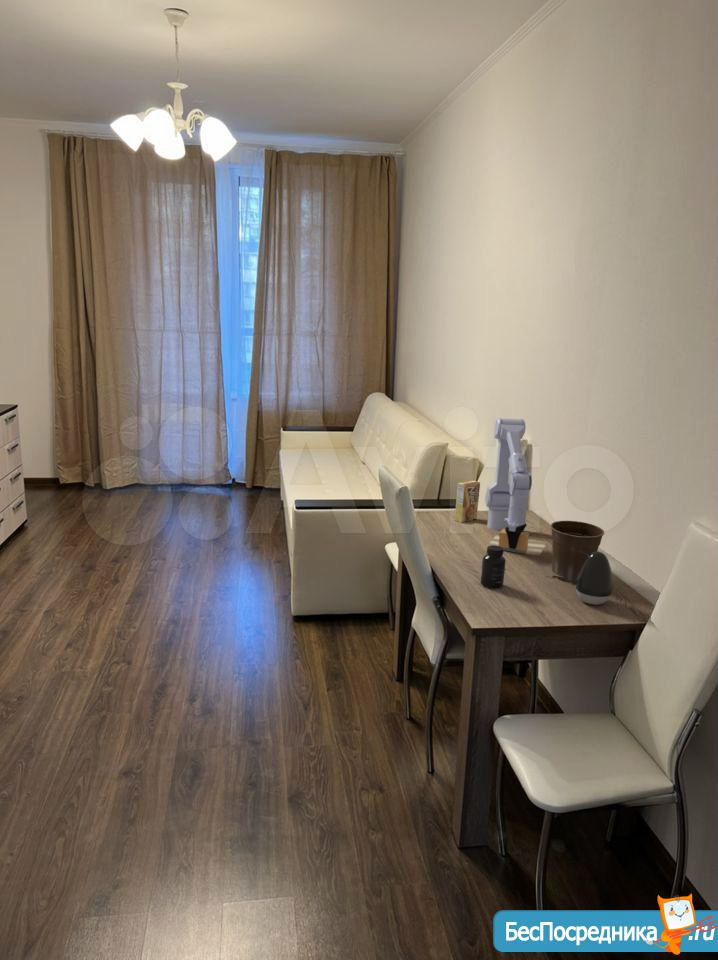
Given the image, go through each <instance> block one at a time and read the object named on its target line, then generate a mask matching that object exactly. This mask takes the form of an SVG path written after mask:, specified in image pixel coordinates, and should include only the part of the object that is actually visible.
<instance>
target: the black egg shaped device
mask: <svg viewBox="0 0 718 960" xmlns="http://www.w3.org/2000/svg"><path fill="white" fill-rule="evenodd" d="M579 554H580V555H581V556H582V557H584V558H585V559H586V560H585V561H584V563H583V565H582V567H581V569H580V571H579V574H578V577H577V581H576V583H575V589H576V593H577V596H578V598H579V599H580V600H581V601H582V602H583V603H585V604H587V605H591V604H593V605H592V606H595V605H596V606H599V605H602V604H605V603H607V602H608V600H610V597H611V595H612V594H613V589H614V587H613V582H614V580H613V573H612V567H611V564H610V561H609V558H608V557H607V556H606V555H607V554H605V553H603V552H601V551H596V552H592V553H591V554H590V555H588V554H586V553H584V552H582V551H580V552H579Z"/></svg>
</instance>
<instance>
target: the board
mask: <svg viewBox="0 0 718 960" xmlns="http://www.w3.org/2000/svg"><path fill="white" fill-rule="evenodd" d="M499 535H500V534H496V535H495V536H494V537H493V538H492V540H491V541H490V542H489V543H488V544H487V545H486V548H487V547H488V546H491V545H496V546H498V545H499ZM547 544H548V542H546V541H540V540H539V541H538V540H534V539H528V548H527V551H526V552H525V554H526V555H533V556H539V557H540V556H541V554H542V552H543V550H544V549H545V546H546V545H547Z"/></svg>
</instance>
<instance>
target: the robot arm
mask: <svg viewBox="0 0 718 960" xmlns="http://www.w3.org/2000/svg"><path fill="white" fill-rule="evenodd" d="M526 426H527V425H526V422H525V419H524V418H520V419H519V418H501V417H498V418H496V420H495V422H494V431H493V436H494V437H493V438H494V439H496V440H497V441H498V448H497V459H496V466H495V467H496V469H495V479H494V480H495V481H494V482H492V483H491V484H489V485H488V486H487V487H486V492H485V497H484V504H485V505H486V507H487V508H488V513H487V514H488V515H487V524H486V525H487V529H489V530H493V531H501V530H502V529H505V531H506V533H507V536H508V543H509V548H511V549H516V546H517V543H518V539H519V536H520V534H521V532H524V530H525V528H526V527H527V523H526V522H527V521H526V519H527V517H526V516H527V506H528V497H529V491H530V490H531V488H532V486H533V485H532V484H533V477H532V474H531V472H530V470H528V466H527V465H528V464H527V459H526V456H525V455H523V454H522V440H521V439H523V438H524V435H525V432H526ZM508 525H509V526H508Z"/></svg>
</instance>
